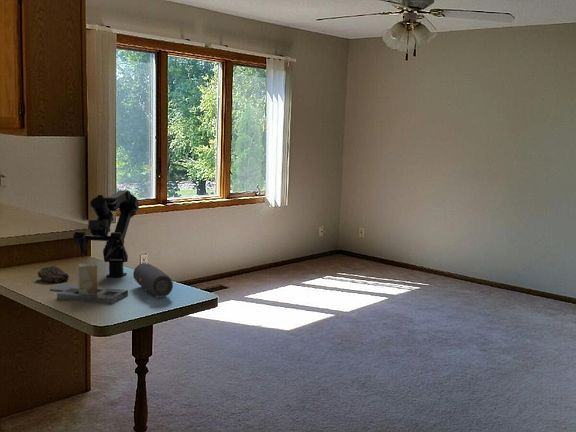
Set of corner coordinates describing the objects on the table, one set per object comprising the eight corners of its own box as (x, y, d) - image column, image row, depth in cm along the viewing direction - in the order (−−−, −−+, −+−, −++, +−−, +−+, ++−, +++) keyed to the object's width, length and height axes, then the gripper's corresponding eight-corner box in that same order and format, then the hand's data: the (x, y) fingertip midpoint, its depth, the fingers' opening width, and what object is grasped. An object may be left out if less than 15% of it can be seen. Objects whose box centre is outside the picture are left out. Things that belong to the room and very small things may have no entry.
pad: (63, 284, 244) (63, 283, 244) (83, 286, 242) (83, 284, 242) (49, 290, 235) (49, 288, 235) (70, 292, 233) (70, 290, 233)
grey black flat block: (75, 290, 235) (75, 285, 235) (128, 295, 231) (127, 289, 230) (57, 299, 224) (57, 293, 224) (111, 303, 219) (111, 298, 219)
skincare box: (80, 299, 224) (79, 266, 222) (78, 296, 228) (77, 264, 226) (98, 297, 227) (97, 265, 225) (96, 294, 231) (95, 262, 229)
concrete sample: (36, 279, 252) (35, 267, 251) (60, 275, 258) (60, 264, 258) (45, 285, 243) (44, 272, 243) (70, 281, 250) (70, 269, 249)
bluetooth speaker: (131, 287, 242) (131, 262, 240) (154, 284, 246) (154, 260, 245) (149, 302, 222) (149, 275, 221) (174, 298, 227) (174, 272, 226)
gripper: (73, 210, 237) (62, 244, 228) (121, 212, 236) (112, 246, 226) (82, 227, 246) (72, 260, 237) (128, 228, 245) (119, 262, 236)
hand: (93, 256), depth 234 cm, fingers open, 9 cm apart
